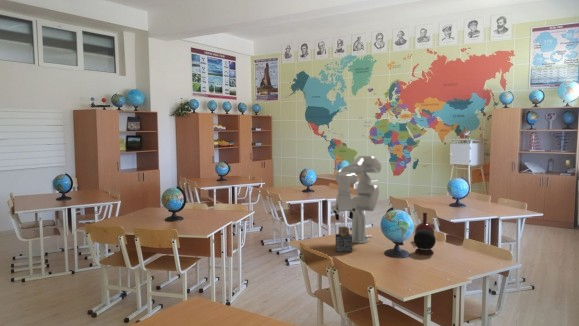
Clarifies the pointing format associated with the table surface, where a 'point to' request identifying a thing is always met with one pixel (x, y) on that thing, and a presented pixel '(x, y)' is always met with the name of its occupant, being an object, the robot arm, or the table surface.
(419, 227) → the round-bottom flask
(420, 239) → the black round ball
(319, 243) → the table surface
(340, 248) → the small box
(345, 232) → the walnut cube
